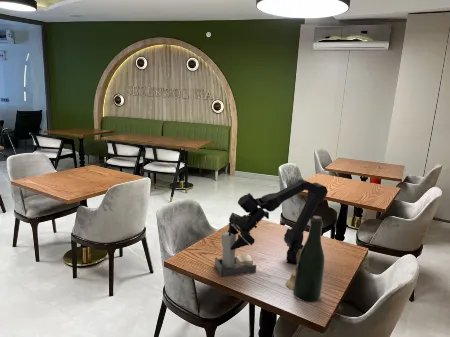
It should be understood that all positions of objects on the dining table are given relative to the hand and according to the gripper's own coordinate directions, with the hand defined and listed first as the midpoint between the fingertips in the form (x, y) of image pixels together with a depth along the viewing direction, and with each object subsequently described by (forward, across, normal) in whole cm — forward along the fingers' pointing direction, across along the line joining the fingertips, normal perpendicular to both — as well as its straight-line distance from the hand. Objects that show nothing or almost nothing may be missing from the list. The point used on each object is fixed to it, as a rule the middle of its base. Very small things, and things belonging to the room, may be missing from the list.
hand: (227, 244), depth 144 cm
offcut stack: (+3, 0, +15) cm, 15 cm away
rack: (+6, 0, +12) cm, 13 cm away
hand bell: (-9, +18, +26) cm, 33 cm away
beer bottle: (-9, +26, +26) cm, 38 cm away
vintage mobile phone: (+8, 0, +9) cm, 12 cm away
